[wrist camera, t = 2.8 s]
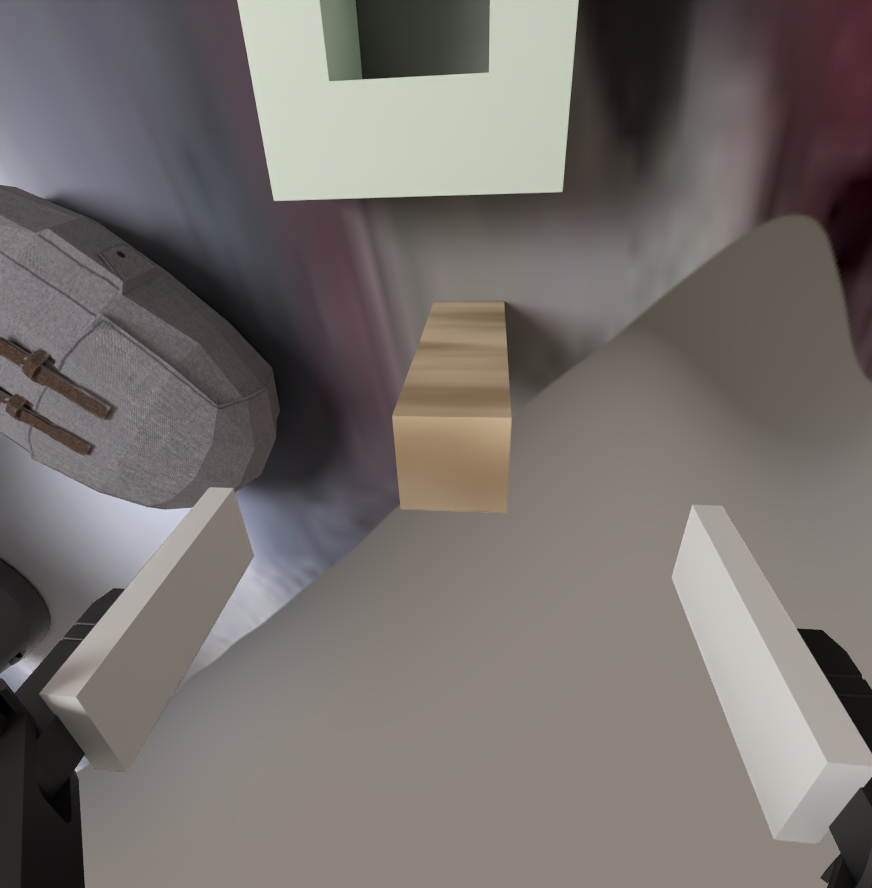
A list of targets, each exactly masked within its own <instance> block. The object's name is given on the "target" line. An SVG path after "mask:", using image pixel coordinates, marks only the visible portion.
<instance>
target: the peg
mask: <svg viewBox="0 0 872 888" xmlns="http://www.w3.org/2000/svg"><path fill="white" fill-rule="evenodd" d="M392 419H393V430H394V441H395V452H396V463H397V474H398V485H399V496H400V507H401V509H409V510H438V511H467V512H468V511H469V512H497V513H507V501H508V480H509V459H510V458H509V457H510V438H511V403H510V387H509V371H508V355H507V339H506V322H505V306H504V301H483V302H434V304H433V306H432V309H431V312H430V314H429V317H428V320H427V323H426V325H425V328H424V331H423V334H422V336H421V339H420V342H419V344H418V347H417V350H416V353H415V355H414V358H413V361H412V364H411V366H410V369H409V372H408V374H407V377H406V380H405V383H404V385H403V388H402V391H401V394H400V396H399V399H398V402H397V404H396V407H395V410H394V413H393V415H392Z"/></svg>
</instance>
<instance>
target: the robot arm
mask: <svg viewBox="0 0 872 888" xmlns="http://www.w3.org/2000/svg"><path fill="white" fill-rule="evenodd" d="M253 557H254V554H253V551H252V548H251V544H250V541H249V538H248V534H247V531H246V528H245V524H244V521H243V518H242V514H241V511H240V508H239V504H238V501H237V498H236V495H235V491H234V488H217V487H209V488H208V490H207V491H206V492H205V493H204V494H203V496H202V497H201V498H200V499H199V501H198V502H197V503H196V504H195V505H194V507H193V508H192V509H191V510H190V511H189V513H188V514H187V515H186V516H185V517H184V519H183V520H182V521H181V522H180V524H179V525H178V526H177V527H176V528H175V530H174V531H173V532H172V533H171V534H170V536H169V537H168V538H167V539H166V540H165V542H164V543H163V544H162V545H161V547H160V548H159V549H158V550H157V551H156V553H155V554H154V555H153V556H152V557H151V559H150V560H149V561H148V562H147V563H146V565H145V566H144V567H143V568H142V570H141V571H140V572H139V573H138V574H137V576H136V577H135V578H134V579H133V580H132V582H131V583H130V584H129V585H128V586H127V588H126V589H116V588H114V589H112V590H111V591H109V592H108V593H107V594H105V595H104V596H103V597H101V598H100V599H98V600H97V601H96V602H94V603H93V604H92V605H91V606H90V607H89V608H88V610H87V611H86V612H85V613H84V614H83V615H82V616H81V618H80V619H79V620H78V621H77V624H76V626H73V627H72V628H71V629H70V630H69V631H68V633H67V634H66V635H65V636H64V639H63V641H60V642H59V643H58V644H57V645H56V646H55V647H54V649H53V650H52V651H51V652H50V653H49V654H48V656H47V657H46V658H45V659H44V660H43V661H42V662H41V664H40V665H39V666H38V667H37V668H36V669H35V670H34V672H33V673H32V674H31V675H30V676H29V677H28V679H27V680H26V681H25V682H24V683H23V684H22V685H21V687H20V688H19V689H18V690H17V691H16V692H15V693H14V692H13V691H12V690H11V689H10V687H9V686H8V685H7V684H6V682H5V681H4V680H3V679H1V678H0V888H85V883H84V865H83V848H82V831H81V813H80V796H79V780H78V777H77V774H76V771H75V768H76V767H77V765H78V764H79V762H80V761H81V759H82V758H83V756H84V755H85V756H86V758H87V759H88V760H89V762H90V763H91V764H92V766H93V767H94V768H95V769H98V770H108V771H117V772H128V771H129V769H130V767H131V766H132V764H133V762H134V761H135V759H136V757H137V756H138V754H139V752H140V750H141V748H142V747H143V745H144V743H145V741H146V740H147V738H148V737H149V735H150V733H151V732H152V730H153V728H154V726H155V725H156V723H157V721H158V720H159V718H160V716H161V714H162V713H163V711H164V709H165V708H166V706H167V704H168V702H169V701H170V699H171V697H172V696H173V694H174V692H175V690H176V689H177V687H178V685H179V684H180V682H181V680H182V678H183V677H184V675H185V673H186V672H187V670H188V668H189V666H190V665H191V663H192V661H193V660H194V658H195V656H196V655H197V653H198V651H199V649H200V648H201V646H202V644H203V643H204V641H205V639H206V637H207V636H208V634H209V632H210V631H211V629H212V627H213V625H214V624H215V622H216V620H217V619H218V617H219V615H220V613H221V612H222V610H223V608H224V607H225V605H226V603H227V601H228V600H229V598H230V596H231V595H232V593H233V591H234V589H235V588H236V586H237V584H238V583H239V581H240V579H241V577H242V576H243V574H244V572H245V571H246V569H247V567H248V566H249V564H250V562H251V560H252V559H253ZM672 580H673V583H674V585H675V588H676V590H677V593H678V595H679V598H680V601H681V603H682V606H683V608H684V611H685V613H686V616H687V618H688V621H689V624H690V626H691V629H692V631H693V634H694V636H695V639H696V642H697V644H698V646H699V649H700V652H701V654H702V657H703V660H704V662H705V665H706V667H707V670H708V672H709V675H710V677H711V680H712V683H713V685H714V688H715V690H716V693H717V695H718V698H719V701H720V703H721V706H722V708H723V711H724V713H725V716H726V718H727V721H728V723H729V726H730V728H731V731H732V734H733V736H734V739H735V741H736V744H737V746H738V749H739V752H740V754H741V757H742V759H743V762H744V764H745V767H746V770H747V772H748V775H749V777H750V780H751V782H752V785H753V787H754V790H755V793H756V795H757V797H758V800H759V803H760V805H761V808H762V811H763V813H764V816H765V818H766V821H767V823H768V826H769V828H770V831H771V834H772V836H773V839H774V840H782V841H791V842H801V843H810V844H818V843H819V842H820V840H821V839H822V838H823V837H824V836H825V835H826V833H827V832H828V831H829V830H830V831H831V833H832V835H833V837H834V839H835V842H836V844H837V845H838V848H839V850H840V852H841V853H840V855H839V856H838V857H837V858H836V859H835V860H834V861H833V863H832V864H831V865H830V866H829V867H828V869H826V871H825V872H824V874H823V875H822V876H821V879H823V880H824V881H825V882H826V883H828V882H829V883H828V887H827V888H872V689H871V688H870V686H869V685H868V683H867V682H866V680H863V679H862V674H861V673H860V671H859V670H858V668H857V667H856V665H855V664H854V662H853V661H852V660H851V658H850V656H849V655H848V653H847V652H846V651H845V650H844V649H843V648H842V647H841V646H840V645H838V644H837V643H836V642H835V641H834V640H833V639H832V638H830V637H829V636H828V635H827V634H826V633H825V632H824V631H822V630H813V629H796V627H795V626H794V624H793V622H792V621H791V619H790V617H789V616H788V614H787V613H786V611H785V609H784V607H783V606H782V604H781V602H780V601H779V599H778V598H777V596H776V594H775V592H774V591H773V589H772V587H771V586H770V584H769V583H768V581H767V579H766V578H765V576H764V574H763V573H762V571H761V569H760V568H759V566H758V564H757V563H756V561H755V560H754V558H753V556H752V554H751V553H750V551H749V550H748V548H747V546H746V544H745V543H744V541H743V540H742V538H741V536H740V535H739V533H738V531H737V530H736V528H735V526H734V525H733V523H732V521H731V520H730V518H729V516H728V515H727V513H726V511H725V510H724V508H723V506H716V505H692V508H691V511H690V515H689V518H688V522H687V525H686V529H685V532H684V536H683V539H682V543H681V546H680V550H679V553H678V557H677V560H676V563H675V567H674V570H673V574H672ZM48 629H49V615H48V611H47V609H46V606H45V604H44V602H43V601H42V599H41V597H40V596H39V595H38V593H37V592H36V591H35V589H34V588H33V587H32V586H31V585H30V584H29V583H28V582H27V581H26V580H25V579H24V578H23V577H22V576H21V575H19V574H18V573H17V572H16V571H15V570H13V569H12V568H11V567H9V566H8V565H6V564H5V563H3V562H2V561H0V673H1V672H3V671H4V670H6V669H7V668H8V667H10V666H11V665H13V664H15V663H17V662H19V661H20V660H22V659H23V658H24V657H25V656H27V655H28V654H29V653H30V652H31V651H32V650H33V648H34V647H35V646H36V645H37V644H38V643H39V642H40V641H41V640H42V639H43V637H44V636H45V635H46V633H47V632H48Z"/></svg>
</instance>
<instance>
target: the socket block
mask: <svg viewBox="0 0 872 888" xmlns="http://www.w3.org/2000/svg"><path fill="white" fill-rule="evenodd" d="M237 1H238V7H239V12H240V18H241V23H242V29H243V34H244V40H245V45H246V50H247V56H248V61H249V67H250V72H251V78H252V83H253V89H254V94H255V100H256V105H257V111H258V116H259V122H260V127H261V133H262V138H263V144H264V149H265V155H266V160H267V166H268V171H269V177H270V182H271V187H272V193H273V198H274V201H285V200H318V199H351V198H383V197H416V196H449V195H482V194H514V193H547V192H563V180H564V168H565V156H566V144H567V132H568V121H569V109H570V97H571V85H572V73H573V61H574V49H575V37H576V26H577V14H578V2H579V0H490V36H489V73H472V74H454V75H435V76H417V77H399V78H381V79H362V67H361V56H360V45H359V34H358V23H357V12H356V1H355V0H237Z"/></svg>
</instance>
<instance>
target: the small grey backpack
mask: <svg viewBox="0 0 872 888" xmlns="http://www.w3.org/2000/svg"><path fill="white" fill-rule="evenodd" d="M279 413H280V407H279V402H278V396H277V391H276V385H275V380H274V374H273V369H272V367H271V366H270V365H269V364H268V363H267V362H266V361H265V360H264V359H263V358H262V357H261V356H260V355H259V354H258V352H257V351H256V350H255V349H254V348H253V347H252V346H251V345H250V344H249V343H248V342H247V341H246V340H245V339H244V338H243V337H242V336H241V335H240V333H239V332H238V331H237V330H236V329H235V328H234V327H233V326H232V325H231V324H230V323H229V322H228V321H227V320H225V319H224V318H223V317H222V316H221V315H219V314H218V313H217V312H216V311H214V310H213V309H212V308H211V307H210V306H208V305H207V304H206V303H205V302H204V301H202V300H201V299H200V298H199V297H197V296H196V295H195V294H194V293H193V292H191V291H190V290H189V289H188V288H187V287H185V286H184V285H183V284H182V283H180V282H179V281H178V280H177V279H176V278H174V277H173V276H172V275H171V274H170V273H168V272H167V271H166V270H164V269H163V268H161V267H160V266H159V265H157V264H156V263H154V262H153V261H152V260H150V259H149V258H147V257H146V256H145V255H143V254H142V253H140V252H139V251H137V250H136V249H135V248H133V247H132V246H130V245H129V244H128V243H126V242H125V241H123V240H122V239H121V238H119V237H118V236H116V235H115V234H113V233H112V232H111V231H109V230H108V229H106V228H105V227H104V226H102V225H101V224H99V223H98V222H96V221H95V220H93V219H90V218H88V217H87V216H83V215H81V214H78V213H76V212H74V211H71V210H69V209H66V208H64V207H62V206H59V205H57V204H55V203H52V202H50V201H47V200H45V199H43V198H40V197H38V196H35V195H33V194H31V193H28V192H26V191H24V190H21V189H19V188H16V187H10V186H3V185H0V432H1V433H3V434H4V435H6V436H7V437H9V438H10V439H11V440H13V441H14V442H16V443H17V444H18V445H20V446H21V447H23V448H24V449H25V450H27V451H28V452H30V454H31V457H32V459H34V460H36V461H38V462H40V463H42V464H44V465H46V466H48V467H50V468H52V469H54V470H56V471H58V472H60V473H62V474H64V475H66V476H68V477H70V478H72V479H74V480H76V481H78V482H80V483H82V484H84V485H86V486H88V487H90V488H92V489H94V490H96V491H98V492H100V493H103V494H107V495H110V496H113V497H116V498H120V499H123V500H126V501H130V502H133V503H136V504H139V505H143V506H146V507H152V508H159V509H178V508H191V507H194V505H195V504H196V503H197V502H198V501H199V499H200V498H201V497H202V496H203V494H204V493H205V492H206V491H207V490H208V488H209V487H217V488H234V491H235V492H236V491H237V490H239V489H241V488H242V487H244V486H245V485H247V484H248V483H250V482H251V481H253V480H254V479H256V478H257V477H259V476H260V475H261V474H262V472H263V469H264V467H265V464H266V462H267V459H268V457H269V455H270V452H271V450H272V447H273V445H274V442H275V440H276V431H277V418H278V415H279Z"/></svg>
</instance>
